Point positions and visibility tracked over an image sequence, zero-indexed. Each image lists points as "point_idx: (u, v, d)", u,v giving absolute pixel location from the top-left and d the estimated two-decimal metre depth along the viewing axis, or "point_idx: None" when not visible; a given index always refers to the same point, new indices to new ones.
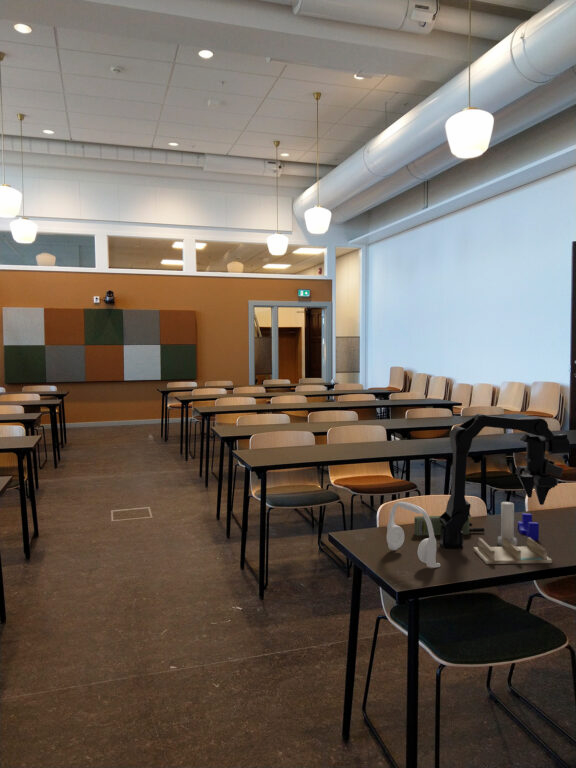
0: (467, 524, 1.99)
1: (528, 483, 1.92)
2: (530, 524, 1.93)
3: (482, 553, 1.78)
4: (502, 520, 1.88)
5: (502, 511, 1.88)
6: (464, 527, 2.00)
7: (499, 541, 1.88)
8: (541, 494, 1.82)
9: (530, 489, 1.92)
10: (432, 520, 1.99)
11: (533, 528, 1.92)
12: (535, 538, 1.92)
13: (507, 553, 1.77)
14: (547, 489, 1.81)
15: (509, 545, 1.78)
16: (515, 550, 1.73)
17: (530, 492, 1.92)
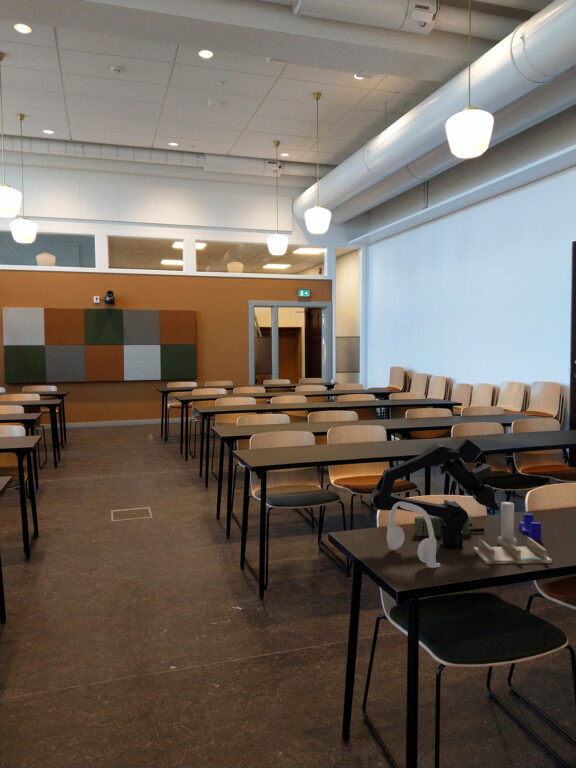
0: (467, 524, 1.99)
1: None
2: (532, 524, 1.92)
3: (482, 553, 1.78)
4: (502, 520, 1.88)
5: (502, 511, 1.88)
6: (464, 527, 1.99)
7: (499, 541, 1.88)
8: (490, 503, 1.82)
9: None
10: (432, 520, 1.99)
11: (536, 528, 1.92)
12: (537, 538, 1.92)
13: (507, 553, 1.77)
14: (490, 497, 1.81)
15: (509, 545, 1.78)
16: (515, 550, 1.73)
17: None
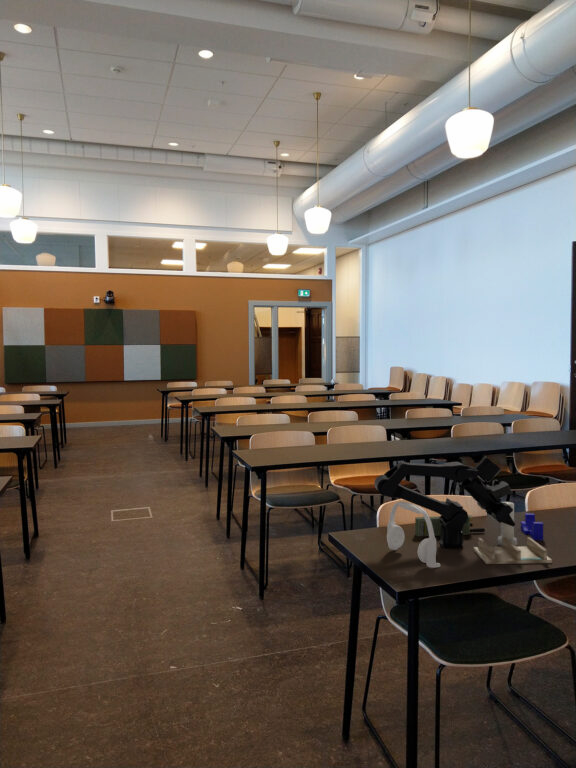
0: (468, 524, 1.99)
1: None
2: (535, 524, 1.92)
3: (482, 553, 1.78)
4: None
5: None
6: (465, 527, 1.99)
7: (499, 541, 1.88)
8: (506, 519, 1.85)
9: None
10: (433, 521, 1.98)
11: (538, 528, 1.92)
12: (540, 538, 1.92)
13: (507, 553, 1.77)
14: None
15: (509, 545, 1.78)
16: (515, 550, 1.73)
17: None
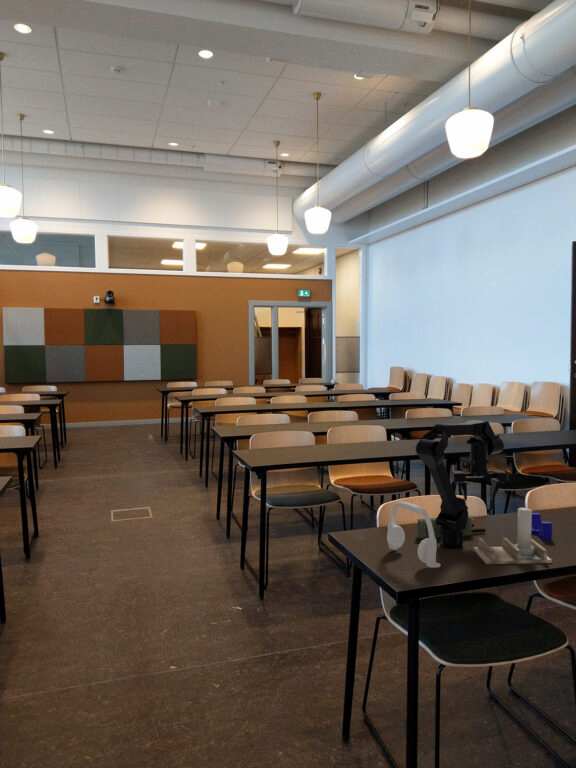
0: (469, 525, 1.98)
1: None
2: (543, 524, 1.92)
3: (482, 553, 1.78)
4: None
5: (518, 517, 1.77)
6: (466, 528, 1.98)
7: None
8: None
9: None
10: (435, 522, 1.97)
11: (547, 528, 1.92)
12: (548, 538, 1.93)
13: (507, 553, 1.77)
14: None
15: (509, 545, 1.78)
16: (515, 550, 1.73)
17: None
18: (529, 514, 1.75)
